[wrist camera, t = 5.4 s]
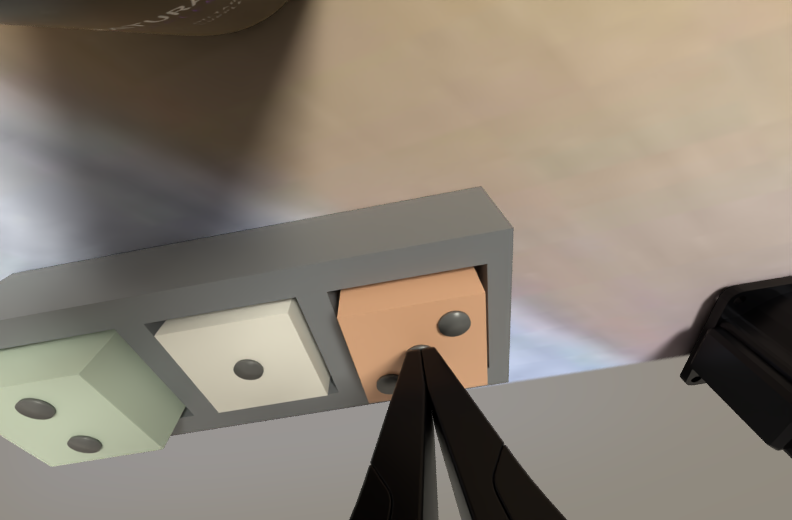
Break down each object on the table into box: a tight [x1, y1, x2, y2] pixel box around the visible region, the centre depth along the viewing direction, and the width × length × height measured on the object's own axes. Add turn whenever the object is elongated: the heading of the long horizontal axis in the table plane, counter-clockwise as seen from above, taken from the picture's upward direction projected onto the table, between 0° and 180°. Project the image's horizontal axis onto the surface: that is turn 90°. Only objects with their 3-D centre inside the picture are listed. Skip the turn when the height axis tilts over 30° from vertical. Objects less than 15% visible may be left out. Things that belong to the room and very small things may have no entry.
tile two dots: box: [0, 329, 186, 467], centre depth 11 cm, size 4×4×3 cm
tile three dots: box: [337, 266, 488, 403], centre depth 11 cm, size 4×4×3 cm
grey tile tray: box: [0, 187, 513, 436], centre depth 12 cm, size 17×7×3 cm, turn 100°
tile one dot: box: [154, 297, 330, 413], centre depth 11 cm, size 4×4×3 cm
